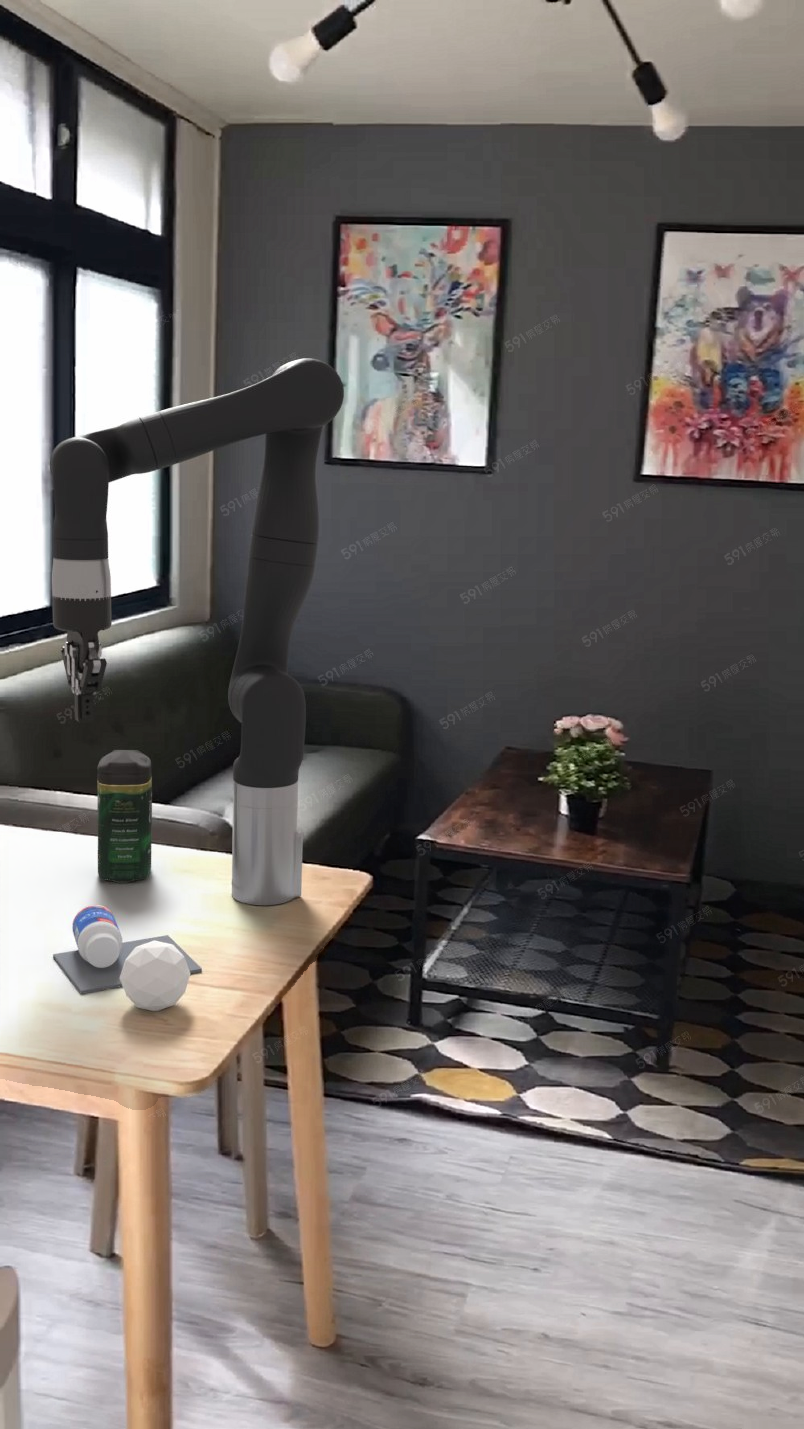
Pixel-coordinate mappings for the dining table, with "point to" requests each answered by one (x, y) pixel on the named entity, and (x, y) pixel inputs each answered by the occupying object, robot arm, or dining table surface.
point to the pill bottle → (97, 935)
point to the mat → (108, 977)
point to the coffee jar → (124, 816)
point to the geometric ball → (155, 975)
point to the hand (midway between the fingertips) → (84, 721)
